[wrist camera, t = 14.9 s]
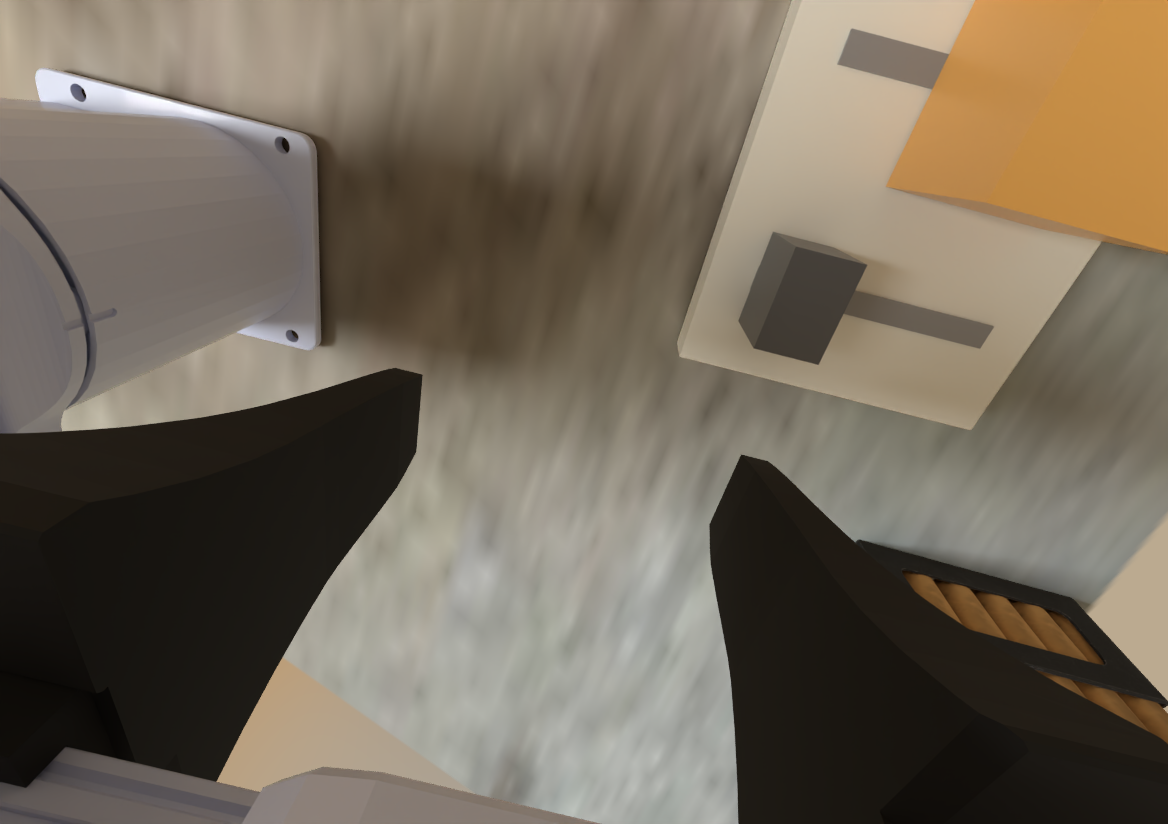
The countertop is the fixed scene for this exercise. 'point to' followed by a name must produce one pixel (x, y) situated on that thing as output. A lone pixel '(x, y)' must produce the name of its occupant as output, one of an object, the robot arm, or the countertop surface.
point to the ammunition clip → (1035, 633)
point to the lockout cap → (1052, 120)
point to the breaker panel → (875, 224)
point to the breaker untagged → (799, 297)
